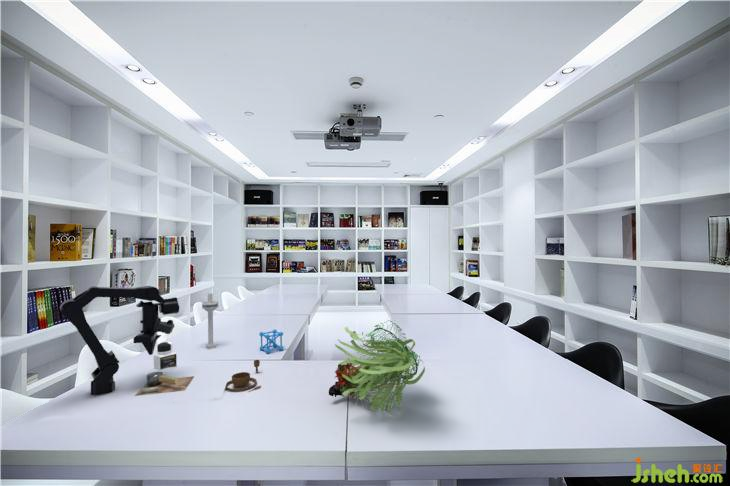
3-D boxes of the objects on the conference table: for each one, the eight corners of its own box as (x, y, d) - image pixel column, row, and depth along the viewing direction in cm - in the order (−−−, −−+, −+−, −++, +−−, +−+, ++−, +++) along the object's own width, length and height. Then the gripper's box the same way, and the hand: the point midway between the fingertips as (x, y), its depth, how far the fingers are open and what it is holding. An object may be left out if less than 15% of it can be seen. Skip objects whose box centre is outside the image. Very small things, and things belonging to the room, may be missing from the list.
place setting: (214, 387, 140) (214, 372, 140) (256, 372, 156) (256, 359, 156) (240, 397, 129) (240, 381, 130) (282, 380, 146) (282, 366, 146)
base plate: (134, 399, 128) (134, 391, 128) (149, 384, 142) (149, 376, 143) (184, 394, 132) (184, 386, 132) (194, 379, 147) (194, 372, 147)
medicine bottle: (160, 372, 156) (160, 346, 156) (153, 369, 160) (153, 343, 160) (176, 368, 161) (176, 342, 161) (169, 365, 166) (169, 340, 166)
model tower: (216, 344, 200) (215, 292, 200) (221, 347, 194) (220, 293, 194) (200, 347, 195) (200, 293, 195) (205, 350, 188) (204, 295, 188)
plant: (377, 354, 151) (450, 324, 126) (368, 444, 127) (455, 428, 102) (311, 321, 136) (378, 280, 112) (287, 415, 113) (366, 389, 88)
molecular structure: (276, 346, 194) (275, 328, 194) (284, 350, 186) (283, 331, 186) (258, 350, 187) (258, 331, 188) (266, 354, 180) (266, 335, 180)
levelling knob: (143, 384, 138) (143, 375, 138) (157, 379, 143) (157, 370, 143) (170, 390, 131) (170, 381, 131) (183, 385, 136) (183, 376, 136)
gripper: (164, 319, 136) (165, 359, 136) (178, 311, 154) (178, 346, 154) (132, 321, 134) (133, 362, 133) (150, 313, 152) (150, 348, 152)
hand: (150, 354), depth 143 cm, fingers closed
